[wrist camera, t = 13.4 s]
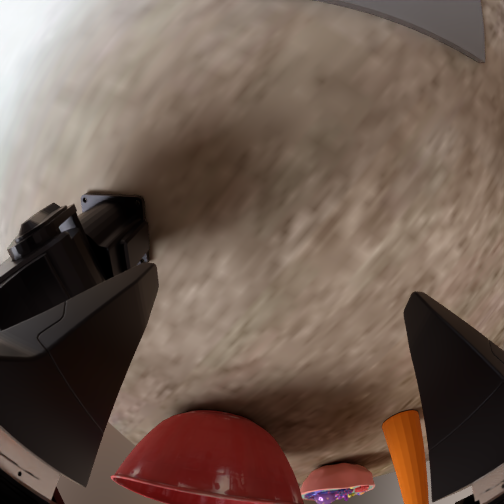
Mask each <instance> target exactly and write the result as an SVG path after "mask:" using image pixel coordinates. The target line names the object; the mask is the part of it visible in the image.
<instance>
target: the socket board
mask: <svg viewBox="0 0 504 504" xmlns="http://www.w3.org/2000/svg"><path fill="white" fill-rule="evenodd" d="M314 1H320V2H325V3H330V4H335V5H339V6H343V7H347V8H351V9H355V10H359V11H363V12H366V13H369V14H373V15H376V16H379V17H382V18H385V19H388V20H391V21H394V22H396V23H399V24H402V25H404V26H407V27H409V28H412V29H414V30H417V31H419V32H421V33H424V34H426V35H428V36H430V37H432V38H434V39H437V40H439V41H441V42H443V43H445V44H447V45H449V46H450V47H452V48H454V49H456V50H458V51H460V52H461V53H463V54H465V55H467V56H468V57H470V58H472V59H473V60H475V61H477V62H478V63H480V62H485V38H484V24H483V15H482V7H481V0H314Z"/></svg>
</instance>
